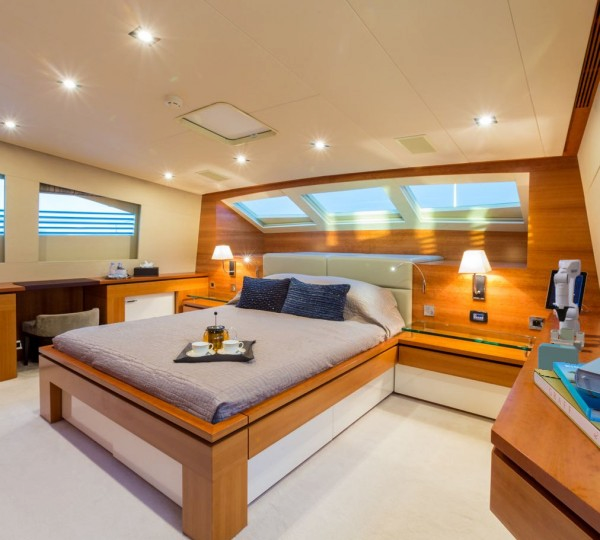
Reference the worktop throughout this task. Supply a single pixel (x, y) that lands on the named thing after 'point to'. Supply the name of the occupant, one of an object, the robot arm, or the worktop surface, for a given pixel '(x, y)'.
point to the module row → (556, 340)
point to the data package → (556, 355)
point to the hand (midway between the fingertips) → (562, 320)
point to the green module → (567, 334)
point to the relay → (578, 345)
